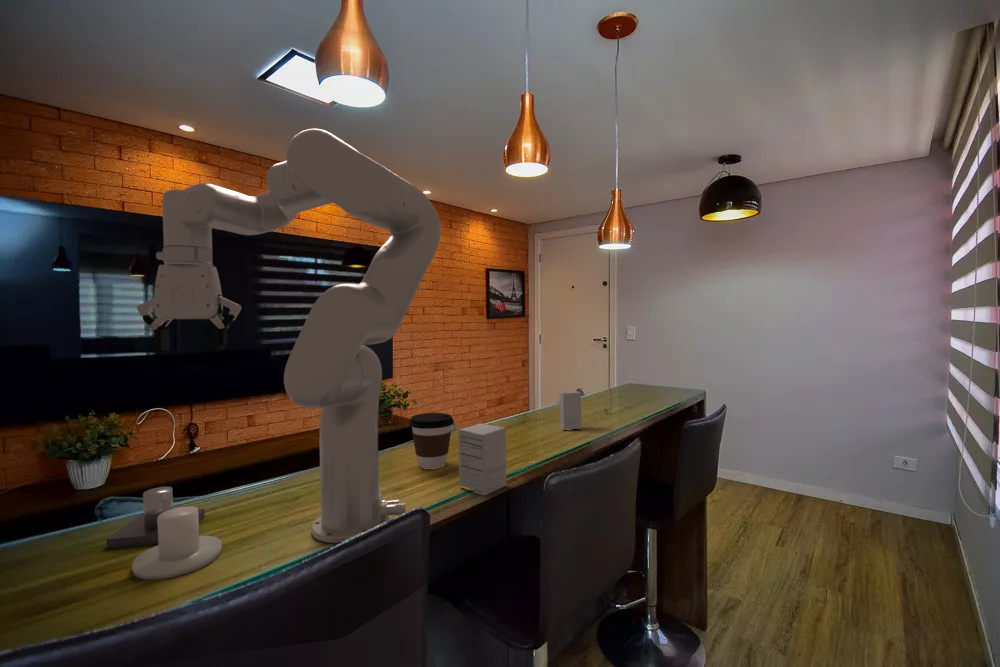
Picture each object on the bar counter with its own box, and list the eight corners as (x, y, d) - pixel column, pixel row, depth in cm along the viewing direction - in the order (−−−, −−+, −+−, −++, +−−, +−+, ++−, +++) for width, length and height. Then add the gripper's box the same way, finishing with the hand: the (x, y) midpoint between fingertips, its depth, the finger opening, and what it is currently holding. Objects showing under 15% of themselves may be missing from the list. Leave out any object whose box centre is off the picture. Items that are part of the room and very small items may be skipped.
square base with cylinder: (204, 516, 85) (203, 478, 84) (177, 542, 75) (175, 499, 75) (143, 521, 83) (141, 482, 83) (106, 548, 73) (105, 504, 73)
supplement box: (481, 479, 103) (480, 422, 103) (507, 486, 99) (506, 427, 98) (458, 488, 98) (457, 428, 97) (484, 496, 93) (483, 434, 93)
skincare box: (577, 427, 151) (577, 390, 151) (582, 430, 147) (581, 392, 147) (559, 428, 150) (558, 391, 150) (563, 431, 146) (563, 393, 146)
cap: (190, 559, 67) (188, 518, 67) (151, 563, 67) (150, 522, 66) (207, 540, 73) (206, 502, 73) (172, 543, 72) (171, 505, 72)
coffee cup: (456, 458, 119) (455, 412, 118) (453, 472, 108) (452, 421, 107) (413, 459, 118) (412, 412, 118) (405, 473, 107) (404, 422, 107)
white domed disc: (233, 538, 76) (232, 532, 76) (203, 574, 65) (202, 567, 65) (158, 545, 74) (157, 539, 74) (114, 583, 63) (114, 576, 63)
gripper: (124, 255, 81) (127, 352, 82) (231, 256, 85) (234, 350, 85) (148, 261, 89) (151, 350, 89) (246, 262, 92) (248, 348, 92)
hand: (191, 350), depth 87 cm, fingers open, 9 cm apart
